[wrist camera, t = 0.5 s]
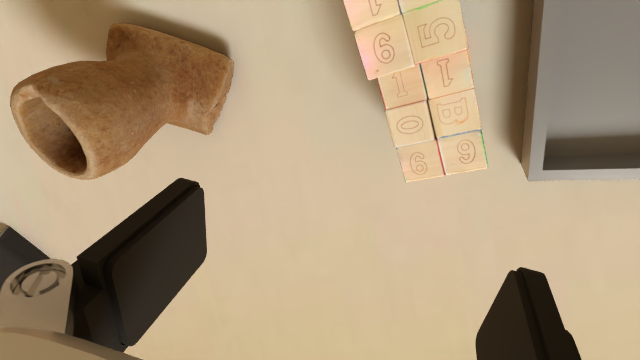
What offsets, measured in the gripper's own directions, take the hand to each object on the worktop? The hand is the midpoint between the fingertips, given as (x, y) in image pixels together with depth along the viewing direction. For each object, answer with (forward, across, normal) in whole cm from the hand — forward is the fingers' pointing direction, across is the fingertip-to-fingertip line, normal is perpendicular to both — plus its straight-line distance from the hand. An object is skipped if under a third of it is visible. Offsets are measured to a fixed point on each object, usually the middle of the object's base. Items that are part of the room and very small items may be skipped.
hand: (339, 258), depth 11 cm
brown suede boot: (+28, +25, +6) cm, 37 cm away
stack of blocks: (+27, 0, -4) cm, 28 cm away
